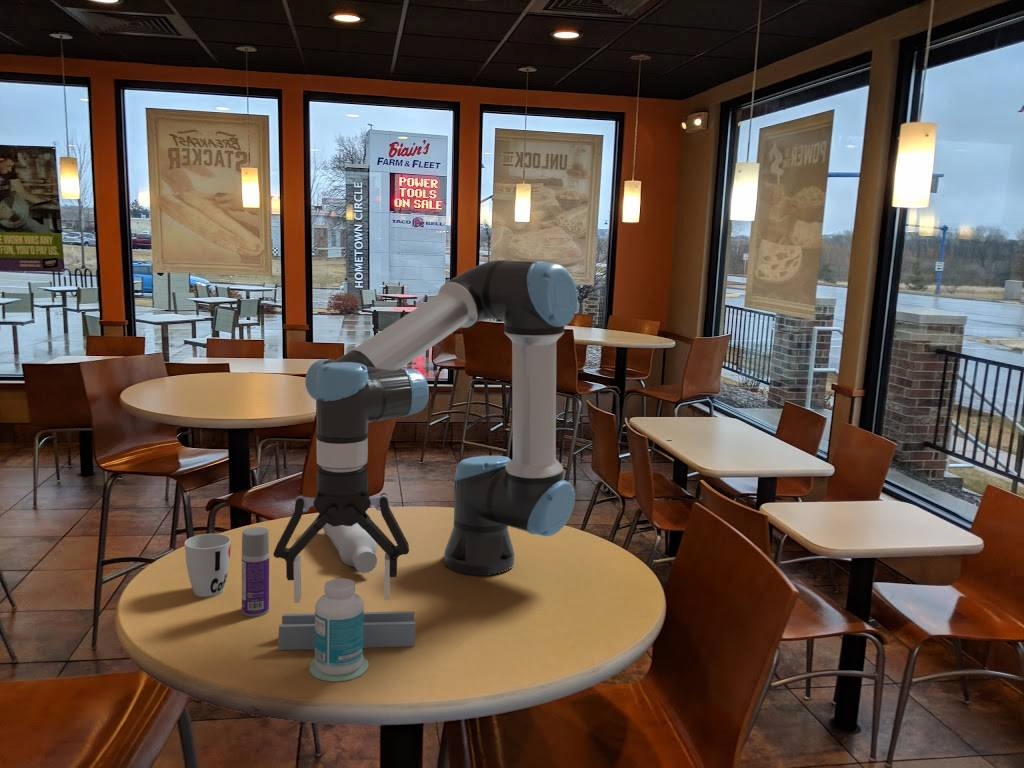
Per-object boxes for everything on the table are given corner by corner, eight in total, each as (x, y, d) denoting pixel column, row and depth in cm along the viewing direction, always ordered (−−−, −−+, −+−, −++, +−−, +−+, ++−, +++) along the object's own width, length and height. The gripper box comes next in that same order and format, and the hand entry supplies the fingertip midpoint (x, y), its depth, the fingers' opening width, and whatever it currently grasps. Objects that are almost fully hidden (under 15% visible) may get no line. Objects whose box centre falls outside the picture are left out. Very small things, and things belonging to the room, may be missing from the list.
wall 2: (413, 632, 137) (414, 611, 136) (413, 635, 136) (414, 613, 135) (282, 636, 133) (282, 613, 133) (281, 638, 133) (282, 615, 132)
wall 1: (414, 643, 133) (415, 621, 132) (414, 646, 132) (415, 623, 132) (279, 647, 129) (279, 624, 129) (278, 650, 129) (278, 626, 128)
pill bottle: (369, 657, 127) (372, 578, 125) (351, 680, 120) (353, 596, 118) (326, 651, 129) (328, 572, 127) (305, 673, 121) (307, 589, 119)
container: (274, 608, 144) (274, 529, 142) (258, 618, 139) (258, 537, 137) (252, 603, 145) (252, 525, 143) (236, 613, 141) (235, 533, 139)
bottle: (309, 519, 183) (334, 571, 156) (332, 486, 184) (360, 532, 157) (341, 537, 187) (371, 591, 160) (363, 505, 188) (396, 553, 161)
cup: (215, 602, 145) (215, 550, 143) (176, 597, 146) (175, 545, 145) (239, 585, 153) (239, 536, 151) (201, 580, 154) (201, 531, 153)
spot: (368, 652, 129) (368, 651, 129) (367, 680, 121) (367, 679, 121) (312, 653, 128) (312, 652, 128) (306, 682, 119) (306, 681, 119)
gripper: (424, 458, 125) (422, 584, 129) (260, 459, 121) (263, 589, 125) (426, 471, 118) (424, 605, 121) (252, 473, 114) (255, 611, 117)
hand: (342, 597), depth 123 cm, fingers open, 13 cm apart
